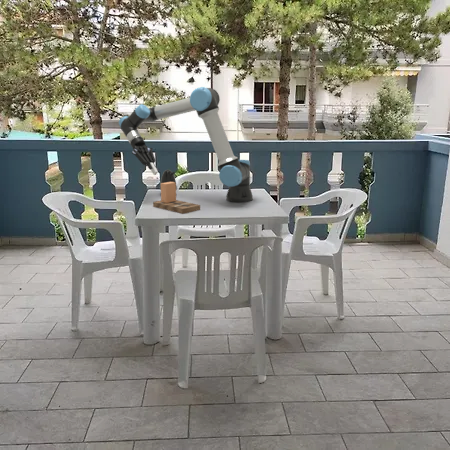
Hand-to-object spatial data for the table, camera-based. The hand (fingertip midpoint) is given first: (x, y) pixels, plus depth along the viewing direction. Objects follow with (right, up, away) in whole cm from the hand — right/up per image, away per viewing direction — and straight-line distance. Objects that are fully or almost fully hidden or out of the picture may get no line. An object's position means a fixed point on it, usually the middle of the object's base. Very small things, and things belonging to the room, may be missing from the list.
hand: (155, 173), depth 241 cm
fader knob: (+7, -15, -3) cm, 17 cm away
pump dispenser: (+3, -10, +29) cm, 31 cm away
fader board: (+12, -19, -6) cm, 23 cm away
